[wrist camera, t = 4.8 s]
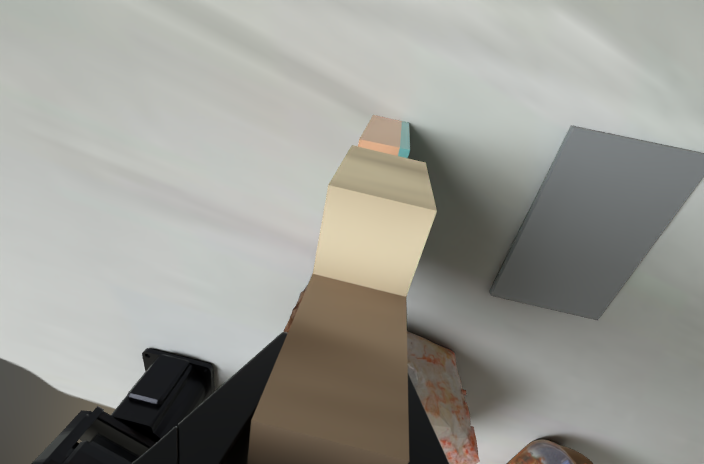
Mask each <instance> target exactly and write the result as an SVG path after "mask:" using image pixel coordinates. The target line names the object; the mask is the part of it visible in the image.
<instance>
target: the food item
mask: <svg viewBox="0 0 704 464" xmlns="http://www.w3.org/2000/svg"><path fill="white" fill-rule="evenodd" d="M307 286H308V285H307ZM307 286H306V288H305V289H304V291H303V292H301V294H300V297H299V300H298V302H297V304H296V306H295V307H294V309H293V311H292V314H291V316H290V319H289V321H288V323H287V325H286V327H285V329H284V332H287V333H288V332H289V329H290V327H291V324H292V322H293V320H294V317H295V315H296V312H297V310H298V308H299V305H300V303H301V301H302V298H303V296H304V293H305V291H306V289H307ZM407 366H408V374H409V376H410V379H411V381H412V383H413V385H414V387H415V390H416V392H417V394H418V396H419V398H420V400H421V403H422V405H423V407H424V409H425V411H426V414H427V416H428V418H429V420H430V422H431V425H432V427H433V429H434V431H435V433H436V435H437V438H438V440H439V442H440V444H441V446H442V449H443V451H444V453H445V455H446V457H447V460H448V462H449V464H476V463H478V462H479V461H480V460H479V457H478V448H477V441H476V436H475V432H474V427H473V426H470V414H469V410H468V406H467V403H466V402H465V397H464V395H466V390H463V389H462V385H461V380H460V378H459V374H458V370H457V366H456V358H455V353H454V352H453V351H451V350H450V349H447V348H444V347H442V346H439V345H437V344H435V343H433V342H431V341H429V340H427V339H425V338H422V337H420V336H417V335H415V334H413V333H410V332H408V331H407Z"/></svg>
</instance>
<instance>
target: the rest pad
mask: <svg viewBox="0 0 704 464" xmlns="http://www.w3.org/2000/svg"><path fill="white" fill-rule="evenodd" d="M703 177H704V153H701V152H696V151H691V150H686V149H682V148H677V147H672V146H667V145H662V144H657V143H653V142H648V141H643V140H638V139H633V138H629V137H624V136H619V135H614V134H609V133H605V132H600V131H595V130H590V129H585V128H580V127H576V126H571V127H570V129H569V131H568V133H567V135H566V137H565V139H564V141H563V143H562V145H561V147H560V149H559V151H558V153H557V155H556V157H555V159H554V161H553V163H552V165H551V167H550V169H549V172H548V174H547V176H546V178H545V180H544V182H543V184H542V186H541V188H540V190H539V192H538V194H537V196H536V198H535V200H534V202H533V204H532V206H531V208H530V210H529V212H528V214H527V216H526V219H525V221H524V223H523V225H522V227H521V229H520V231H519V233H518V235H517V237H516V239H515V241H514V243H513V245H512V247H511V249H510V251H509V253H508V255H507V257H506V259H505V261H504V263H503V266H502V268H501V270H500V272H499V274H498V276H497V278H496V280H495V282H494V284H493V286H492V288H491V290H490V294H491V296H495V297H500V298H504V299H508V300H513V301H517V302H521V303H525V304H530V305H534V306H538V307H543V308H547V309H551V310H556V311H560V312H564V313H569V314H573V315H577V316H582V317H586V318H590V319H594V320H598V319H599V318H600V316H601V315H602V314H603V312H604V311H605V310H606V308H607V307H608V306H609V304H610V303H611V302H612V300H613V299H614V297H615V296H616V295H617V293H618V292H619V291H620V289H621V288H622V287H623V285H624V284H625V282H626V281H627V280H628V278H629V277H630V276H631V274H632V273H633V272H634V270H635V269H636V268H637V266H638V265H639V263H640V262H641V261H642V259H643V258H644V257H645V255H646V254H647V253H648V251H649V250H650V249H651V247H652V246H653V244H654V243H655V242H656V240H657V239H658V238H659V236H660V235H661V234H662V232H663V231H664V230H665V228H666V227H667V225H668V224H669V223H670V221H671V220H672V219H673V217H674V216H675V215H676V213H677V212H678V210H679V209H680V208H681V206H682V205H683V204H684V202H685V201H686V200H687V198H688V197H689V196H690V194H691V193H692V191H693V190H694V189H695V187H696V186H697V185H698V183H699V182H700V181H701V179H702V178H703Z"/></svg>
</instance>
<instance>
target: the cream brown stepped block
mask: <svg viewBox="0 0 704 464" xmlns="http://www.w3.org/2000/svg"><path fill="white" fill-rule="evenodd" d="M436 212H437V209H436V205H435V201H434V196H433V192H432V188H431V183H430V179H429V175H428V171H427V166H426V163H425V162H421V161H417V160H412V159H408V158H404V157H400V156H395V155H391V154H387V153H383V152H379V151H374V150H370V149H366V148H362V147H357V146H353V145H352V146H351V148H350V149H349V151H348V153H347V154H346V156H345V158H344V160H343V161H342V163H341V165H340V166H339V168H338V170H337V171H336V173H335V175H334V176H333V178H332V180H331V181H330V183H329V185H328V190H327V196H326V202H325V207H324V213H323V219H322V224H321V230H320V235H319V241H318V247H317V252H316V258H315V264H314V269H313V274H312V277H311V279H310V281H309V284H308V286H307V289H306V291H305V293H304V296H303V298H302V301H301V303H300V305H299V308H298V310H297V312H296V315H295V317H294V320H293V322H292V324H291V327H290V329H289V332H288V334H287V336H286V339H285V341H284V343H283V346H282V348H281V351H280V353H279V355H278V358H277V360H276V363H275V365H274V367H273V370H272V372H271V374H270V377H269V379H268V382H267V384H266V386H265V389H264V391H263V394H262V396H261V398H260V401H259V403H258V406H257V408H256V410H255V413H254V415H253V417H252V420H251V430H250V441H249V452H248V463H247V464H408V463H409V420H408V366H407V313H406V296H407V293H408V290H409V288H410V285H411V282H412V279H413V276H414V274H415V271H416V268H417V265H418V263H419V260H420V257H421V254H422V251H423V249H424V246H425V243H426V240H427V237H428V235H429V232H430V229H431V226H432V223H433V221H434V218H435V215H436Z"/></svg>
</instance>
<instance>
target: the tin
mask: <svg viewBox="0 0 704 464" xmlns="http://www.w3.org/2000/svg"><path fill="white" fill-rule="evenodd" d="M507 464H593V463H592V462H591V461H590V460H589V459H588V458H587V457H585V456H584V455H582V454H581V453H579V452H577V451H575V450H573V449H570V448H567V447H564V446H561V445H558V444H556V443H554V442H552V441H549V440H544V439H540V440H535V441H533V442H531V443H529V444H528V445H527V446H526V447H524V448H523V449H522V450H521V451H520V452H519V453H518V454H517V455H516V456H515V457H514V458H512V459H511V460H510V461H509V462H508V463H507Z"/></svg>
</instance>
